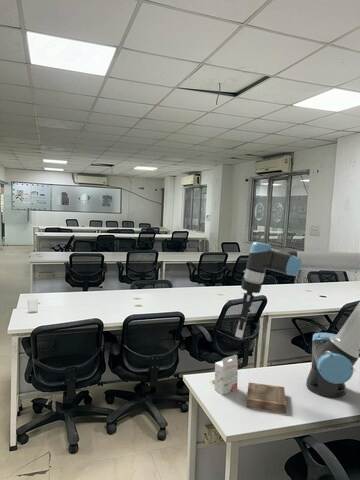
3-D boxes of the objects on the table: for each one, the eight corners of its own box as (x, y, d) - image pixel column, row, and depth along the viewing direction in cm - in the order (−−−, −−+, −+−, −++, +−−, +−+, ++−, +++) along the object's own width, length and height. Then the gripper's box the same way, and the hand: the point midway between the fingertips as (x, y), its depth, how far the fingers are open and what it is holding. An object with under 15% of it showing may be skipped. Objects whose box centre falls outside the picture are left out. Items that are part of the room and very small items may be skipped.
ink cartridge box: (229, 384, 148) (230, 350, 147) (237, 389, 144) (238, 354, 143) (213, 390, 143) (214, 355, 142) (222, 395, 139) (223, 359, 138)
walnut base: (284, 394, 140) (284, 386, 140) (285, 412, 127) (285, 404, 127) (248, 389, 144) (248, 382, 144) (246, 407, 130) (246, 399, 130)
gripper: (245, 273, 151) (233, 320, 153) (240, 284, 127) (227, 339, 129) (262, 278, 149) (250, 325, 151) (261, 289, 125) (247, 345, 127)
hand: (240, 331), depth 140 cm, fingers open, 13 cm apart
